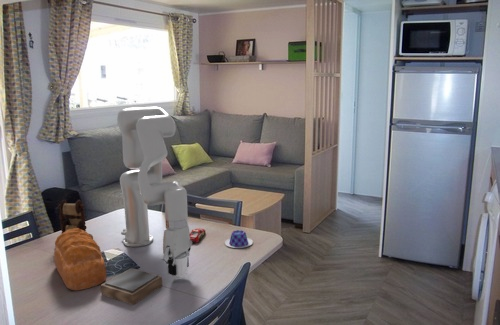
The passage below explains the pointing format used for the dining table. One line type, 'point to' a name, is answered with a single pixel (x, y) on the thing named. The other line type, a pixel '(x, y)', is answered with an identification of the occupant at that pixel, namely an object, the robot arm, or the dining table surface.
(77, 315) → the dining table surface
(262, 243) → the dining table surface
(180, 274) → the shot glass
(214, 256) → the dining table surface
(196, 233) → the race car
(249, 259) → the dining table surface
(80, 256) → the bread
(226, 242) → the pudding
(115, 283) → the tray
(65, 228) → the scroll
